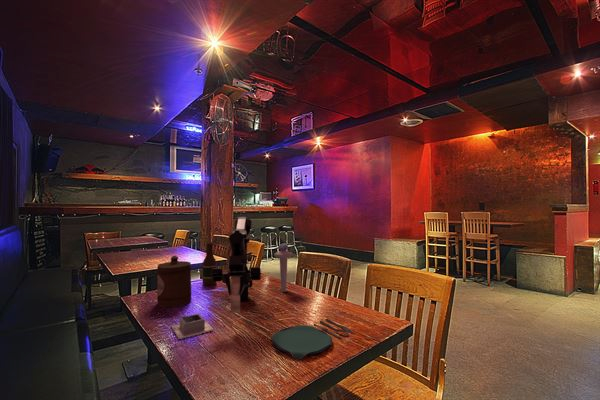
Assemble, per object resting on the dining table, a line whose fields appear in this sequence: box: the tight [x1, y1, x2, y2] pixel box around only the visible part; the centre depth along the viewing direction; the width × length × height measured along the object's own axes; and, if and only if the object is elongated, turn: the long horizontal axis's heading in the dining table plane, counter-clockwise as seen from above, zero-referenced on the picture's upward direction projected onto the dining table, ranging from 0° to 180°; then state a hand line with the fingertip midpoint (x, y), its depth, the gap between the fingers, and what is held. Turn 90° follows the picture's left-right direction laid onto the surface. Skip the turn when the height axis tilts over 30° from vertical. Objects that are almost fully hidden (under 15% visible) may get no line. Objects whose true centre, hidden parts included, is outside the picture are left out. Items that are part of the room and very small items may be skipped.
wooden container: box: [156, 255, 192, 308], centre depth 137 cm, size 15×15×22 cm
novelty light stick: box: [273, 243, 294, 293], centre depth 153 cm, size 10×10×25 cm
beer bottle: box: [202, 242, 218, 287], centre depth 166 cm, size 8×8×24 cm
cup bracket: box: [171, 313, 214, 340], centre depth 108 cm, size 12×12×4 cm
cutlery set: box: [270, 318, 356, 360], centre depth 100 cm, size 20×30×2 cm, turn 128°
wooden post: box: [230, 276, 241, 314], centre depth 107 cm, size 4×4×12 cm
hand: (234, 294), depth 106 cm, fingers closed on wooden post, 3 cm apart
